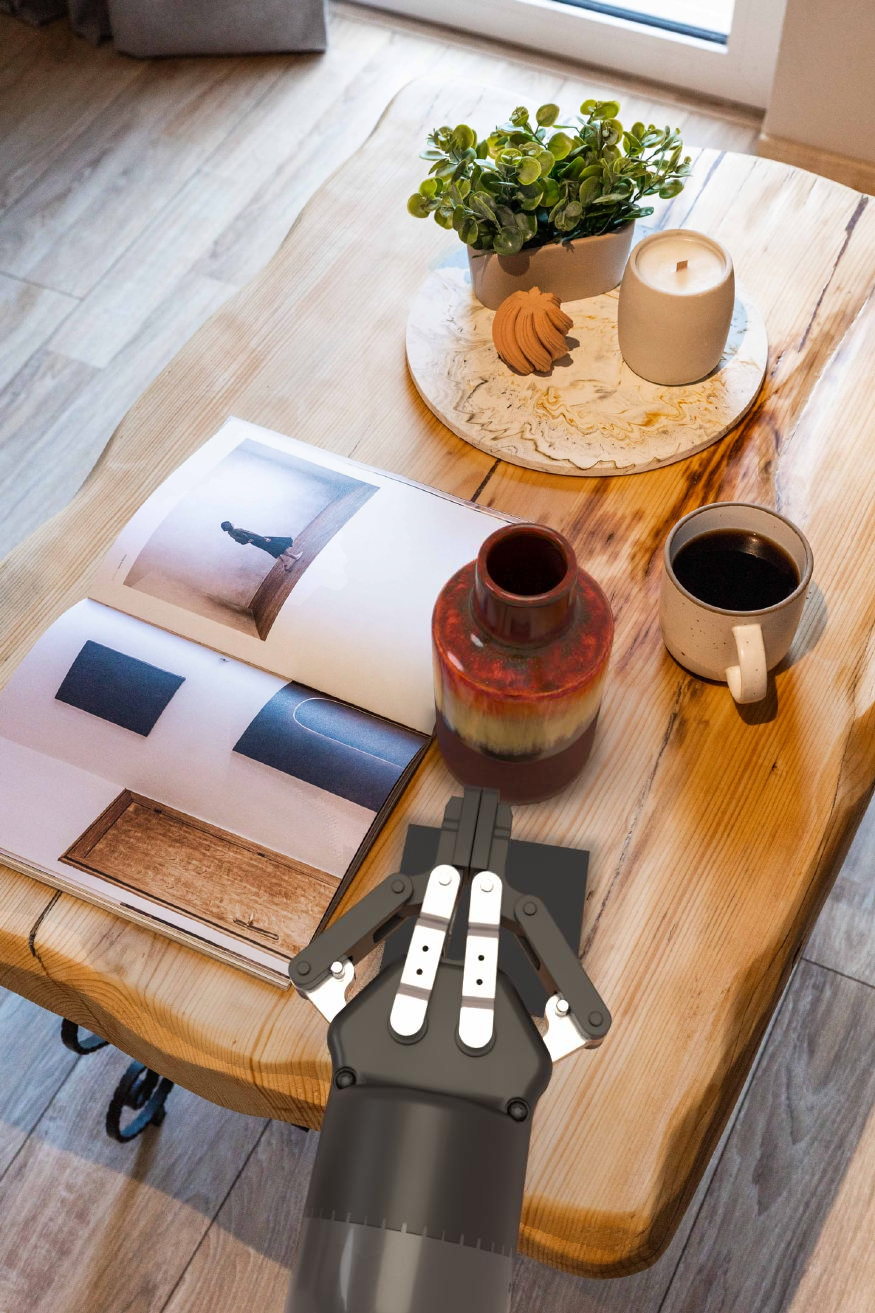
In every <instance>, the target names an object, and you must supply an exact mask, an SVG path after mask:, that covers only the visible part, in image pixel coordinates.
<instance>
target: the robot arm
mask: <svg viewBox="0 0 875 1313" xmlns="http://www.w3.org/2000/svg"><path fill="white" fill-rule="evenodd" d="M499 796H500V790H499V789H493V788H486V787H484V788H483V792H482V787H479V786H472V785H466V786H465V787H464V792H463V796H462V797H461V796H454V795H452V796H451V797H450V798H449V800H448V801H447V803H446V804H445V806H444V812H443V818H442V822H441V827H440V828H441V833H440V839H439V844H438V850H437V855H436V860H435V863H434V865H433V866H432V867H431V869H429V870H428V871H427V872H425V873H422V874H417V875H412V876H407V875H406V874H403V873H399V872H394V873H390V874H389V875H388V876H387V877H386V878H384V879H383V880H382V881H381V882H380V883H379V884H377V885H376V886H375V887H374V888H373V889H372V890H370V891H369V892H368V893H367V894H366V895H365V896H363V897H361V899H360V900H359V901H357V903H355V904H354V905H353V906H352V907H350V909H348V910H347V911H346V912H345V913H344V914H342V915H341V916H340V917H339V918H338V919H337V920H335V921H334V922H333V923H332V924H331V925H329V926H328V927H327V928H326V929H324V930H323V932H321V933H320V934H319V935H318V936H316V938H314V939H313V940H312V941H310V943H308V944H307V945H306V946H305V947H304V948H303V949H302V950H300V951H299V952H298V953H297V954H296V955H294V956H293V957H292V958H291V960H290V961H289V963H288V967H287V973H288V976H289V979H290V982H291V984H292V986H293V988H294V990H295V992H297V994H298V996H299V997H301V999H304V1000H305V1001H309V1002H310V1003H311V1004H312V1006H313V1007H314V1008H315V1009H316V1010H317V1012H318V1013H319V1014H320V1015H321V1016H322V1017H323V1019H324V1020H325V1021H326V1023H327V1024H328V1029H327V1032H326V1044H327V1049H328V1052H329V1055H330V1061H331V1080H330V1086H329V1090H328V1095H327V1099H326V1104H325V1108H324V1114H323V1119H322V1122H321V1123H322V1124H321V1127H320V1133H319V1138H318V1143H317V1146H316V1152H315V1156H314V1161H313V1166H312V1170H311V1176H310V1179H309V1180H310V1181H309V1186H308V1190H307V1194H306V1198H305V1204H304V1207H303V1208H304V1209H303V1212H302V1213H303V1214H302V1218H301V1223H300V1227H299V1233H298V1237H297V1242H296V1246H295V1250H294V1251H295V1252H294V1256H293V1261H292V1267H291V1270H290V1275H289V1281H288V1285H287V1291H286V1296H285V1302H284V1309H283V1313H510V1312H511V1310H510V1309H511V1306H512V1305H511V1304H512V1301H513V1297H514V1289H515V1288H514V1286H515V1285H514V1278H515V1277H514V1276H515V1268H516V1261H517V1254H518V1246H519V1245H518V1244H519V1237H520V1228H521V1220H522V1210H523V1203H524V1195H525V1194H524V1193H525V1186H526V1178H527V1169H528V1162H529V1154H530V1144H531V1136H532V1128H533V1119H534V1114H535V1108H536V1106H537V1104H538V1102H539V1101H540V1099H541V1097H542V1096H543V1095H544V1093H545V1092H546V1091H547V1089H548V1087H549V1085H550V1082H551V1079H552V1076H553V1070H554V1066H555V1065H557V1064H559V1063H560V1062H562V1061H564V1060H566V1059H568V1058H569V1057H571V1056H573V1055H574V1054H577V1053H578V1052H579V1051H581V1050H583V1049H585V1050H588V1051H589V1050H590V1051H591V1050H595V1049H598V1048H600V1047H601V1046H602V1045H603V1043H604V1041H605V1039H606V1037H607V1035H608V1033H609V1031H610V1029H611V1027H612V1024H613V1017H612V1014H611V1011H610V1010H609V1008H608V1007H607V1005H606V1003H605V1002H604V1000H603V999H602V996H601V994H600V993H599V991H598V990H597V989H596V987H595V985H594V983H593V981H592V979H590V976H589V975H588V974H587V972H586V970H585V969H584V967H583V965H582V964H581V962H580V960H579V958H578V959H577V957H576V955H575V954H574V952H573V950H572V949H571V947H570V945H569V944H568V942H567V941H566V939H565V937H564V936H563V934H562V932H561V931H560V929H559V927H558V926H557V924H556V922H555V921H554V919H553V917H552V916H551V914H550V912H549V911H548V909H547V907H546V906H545V904H544V903H543V901H542V900H541V899H540V898H539V897H538V896H536V895H532V894H527V895H525V894H524V893H522V892H520V891H518V890H516V889H514V888H513V887H512V886H511V885H510V884H509V883H508V881H507V879H506V877H505V871H506V864H507V857H508V850H509V844H510V839H511V836H512V830H513V829H512V828H513V820H514V815H513V811H512V808H511V805H510V804H503V803H499ZM469 878H470V886H472V888H471V900H470V912H469V923H468V932H467V944H466V956H465V959H459V960H452V959H450V958H448V957H447V955H448V951H449V945H450V940H451V935H452V931H453V927H454V923H455V919H456V915H457V911H458V907H459V903H460V901H461V897H462V891H463V885H468V884H469ZM416 915H419V917H418V919H417V922H416V925H415V929H414V933H413V937H412V940H411V944H410V948H409V952H408V953H407V954H403V955H401V956H399V957H397V958H395V959H394V960H392V961H391V962H390V963H389V964H388V965H387V966H386V967H385V968H384V969H383V970H382V971H381V972H380V973H379V972H378V973H377V974H376V975H375V976H374V977H372V978H371V980H370V981H369V982H368V983H367V984H366V985H365V986H364V987H362V989H360V990H359V991H358V993H356V994H355V995H354V996H353V997H352V998H351V999H350V1000H349V1001H348V1002H347V999H348V995H349V993H350V991H352V989H353V988H354V986H355V985H356V982H357V974H356V971H355V967H356V966H357V965H358V964H359V963H360V962H362V961H363V960H364V959H365V958H366V957H367V956H368V955H370V954H371V953H372V952H373V951H374V950H375V949H376V948H377V947H379V946H380V945H381V944H382V943H383V942H384V941H386V938H387V937H389V936H390V935H391V934H392V933H393V932H394V931H395V930H397V929H398V928H399V927H400V926H401V925H402V924H403V923H404V922H406V921H407V920H408V919H409V918H410V917H411V916H416ZM499 925H500V926H502V927H503V928H505V929H507V930H509V931H511V932H512V933H513V934H514V936H515V937H516V939H517V941H518V942H519V944H520V946H521V948H522V949H523V951H524V953H525V954H526V956H527V958H528V960H529V961H530V963H531V965H532V966H533V968H534V970H535V972H536V973H537V975H538V977H539V978H540V980H541V982H542V984H543V985H544V987H545V989H546V990H547V992H548V994H549V996H550V997H551V998H550V999H549V1000H548V1002H547V1004H546V1007H545V1011H544V1017H543V1020H544V1022H545V1025H546V1030H547V1031H546V1034H545V1036H542V1034H541V1032H540V1030H539V1028H538V1027H537V1024H536V1023H535V1021H534V1019H533V1016H532V1015H530V1013H529V1011H528V1009H527V1007H526V1005H525V1003H524V1002H523V1000H522V998H521V996H520V994H519V992H518V990H517V988H516V986H515V984H514V983H513V981H512V980H511V978H510V977H509V976H508V975H507V974H506V973H505V972H504V971H503V970H501V969H500V968H498V967H497V956H498V941H499Z"/></svg>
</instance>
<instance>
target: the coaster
mask: <svg viewBox="0 0 875 1313" xmlns="http://www.w3.org/2000/svg"><path fill="white" fill-rule="evenodd" d="M441 828H442V827H435V826H429V825H422V824H415V823H408V827H407V831H406V836H405V842H404V847H403V851H402V857H401V862H400V866H399V870H398V873H403V874H406V875H407V876H412V875H417V874H422V873H425V872H427V871H428V870H429V869H431V867H432V866H433V865H434V863H435V860H436V855H437V850H438V844H439V839H440V833H441ZM590 853H591V851H590V850H586V849H578V848H574V847H573V848H572V847H566V846H559V845H553V844H546V843H540V842H534V841H527V840H521V839H513V838H510V844H509V850H508V857H507V864H506V871H505V877H506V879H507V881H508V883H509V884H510V885H511V886H512V887H513V888H514V889H516V890H518V891H520V892H522V893H524V894H525V895H527V894H532V895H536V896H538V897H539V898H540V899H541V900H542V901H543V903H544V904H545V906H546V907H547V909H548V911H549V912H550V914H551V916H552V917H553V919H554V921H555V922H556V924H557V926H558V927H559V929H560V931H561V932H562V934H563V936H564V937H565V939H566V941H567V942H568V944H569V945H570V947H571V949H572V950H573V952H574V954H575V955H576V957H577V959H578V960H579V954H580V953H579V952H580V945H581V936H582V926H583V917H584V908H585V898H586V888H587V879H588V872H589V871H588V870H589V864H590V863H589V861H590ZM471 888H472V886H470V878H469V884H468V885H463V891H462V897H461V901H460V903H459V907H458V911H457V915H456V919H455V923H454V927H453V931H452V935H451V940H450V945H449V951H448V955H447V957H448V958H450V959H452V960H459V959H465V956H466V944H467V932H468V923H469V912H470V900H471ZM418 917H419V915H416V916H411V917H410V918H409V919H408V920H407V921H406V922H404V923H403V924H402V925H401V926H400V927H399V928H398V929H397V930H395V931H394V932H393V933H392V934H391V935H390V936H389V937H387V938H386V939H385V940H384V941H385V942H384V946H383V952H382V955H381V961H380V966H379V971H378V974H379V973H380V972H381V971H382V970H383V969H384V968H385V967H386V966H387V965H388V964H389V963H390V962H391V961H392V960H394V959H395V958H397V957H399V956H401V955H403V954H407V953H408V952H409V948H410V944H411V940H412V937H413V933H414V929H415V925H416V922H417V919H418ZM497 967H498V968H500V969H501V970H503V971H504V972H505V973H506V974H507V975H508V976H509V977H510V978H511V980H512V981H513V983H514V984H515V986H516V988H517V990H518V992H519V994H520V996H521V998H522V1000H523V1002H524V1003H525V1005H526V1007H527V1009H528V1011H529V1013H530V1015H531V1017H539V1018H544V1011H545V1007H546V1004H547V1002H548V1000H549V999H550V998H551V997H550V996H549V994H548V992H547V990H546V989H545V987H544V985H543V984H542V982H541V980H540V978H539V977H538V975H537V973H536V972H535V970H534V968H533V966H532V965H531V963H530V961H529V960H528V958H527V956H526V954H525V953H524V951H523V949H522V948H521V946H520V944H519V942H518V941H517V939H516V937H515V936H514V934H513V933H512V932H511V931H509V930H507V929H505V928H503V927H502V926H500V925H499V941H498V956H497Z"/></svg>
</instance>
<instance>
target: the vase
mask: <svg viewBox="0 0 875 1313" xmlns="http://www.w3.org/2000/svg"><path fill="white" fill-rule="evenodd" d="M577 560H578V558H577V556H576V551H575V549H574V547H573V545H572V544H571V542H570V541H569V540H568V539H567V538H566V536H564V535H563V534H562V533H560V532H559V531H558V530H556V529H554V528H552V527H550V526H547V525H544V524H541V523H536V522H516V523H511V524H508V525H505V526H502V527H500V528H498V529H497V530H495V531H493V532H492V533H491V534H490V535H488V536H487V538H485V540H484V541H483V542H482V543H481V546H480V548H479V550H478V553H477V557H476V558H474V559H472V560H471V561H469V562H468V563H466V564H464V565H463V566H462V567H460V568H459V569H458V570H457V571H456V572H455V573H453V574H452V575H451V577H450V578H448V580H447V581H446V582H445V583H444V584H443V586H442V588H441V590H440V592H439V593H438V595H437V596H436V599H435V602H434V605H433V608H432V614H431V619H430V636H431V637H430V638H431V639H430V640H431V658H432V659H431V660H432V661H431V662H432V675H433V676H432V677H433V694H434V696H433V697H434V710H435V711H434V713H435V729H436V740H437V745H438V746H437V747H438V750H439V753H440V756H441V759H442V761H443V763H444V765H445V766H446V768H447V770H448V772H449V773H450V774H451V776H453V778H454V779H455V780H456V781H457V782H458V783H459V784H460V785H461V786H462V787H463V788H465V786H466V785H472V786H479V787H482V792H483V788H484V787H486V788H493V789H499V790H500V796H499V803H503V804H510V806H525V805H531V804H537V803H540V802H543V801H546V800H549V799H552V798H553V797H555V796H557V795H559V794H561V793H562V792H564V791H565V790H566V789H568V788H569V787H571V785H572V784H573V783H574V782H575V781H577V779H578V777H579V776H580V775H581V774H582V772H583V771H584V769H585V767H586V765H587V763H588V762H589V759H590V756H591V752H592V748H593V745H594V741H595V736H596V731H597V726H598V721H599V716H600V711H601V707H602V701H603V696H604V693H605V692H604V691H605V688H606V682H607V678H608V677H607V676H608V672H609V668H610V667H609V666H610V662H611V658H612V652H613V647H614V642H615V641H614V640H615V619H614V613H613V610H612V606H611V603H610V601H609V599H608V597H607V595H606V593H605V591H604V589H603V588H602V587H601V585H600V584H599V583H598V581H597V580H596V579H595V578H594V577H593V576H592V575H591V574H590V573H589V572H588V571H587V570H586V569H584V568H582V567H581V566H580V565H578V561H577Z"/></svg>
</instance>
